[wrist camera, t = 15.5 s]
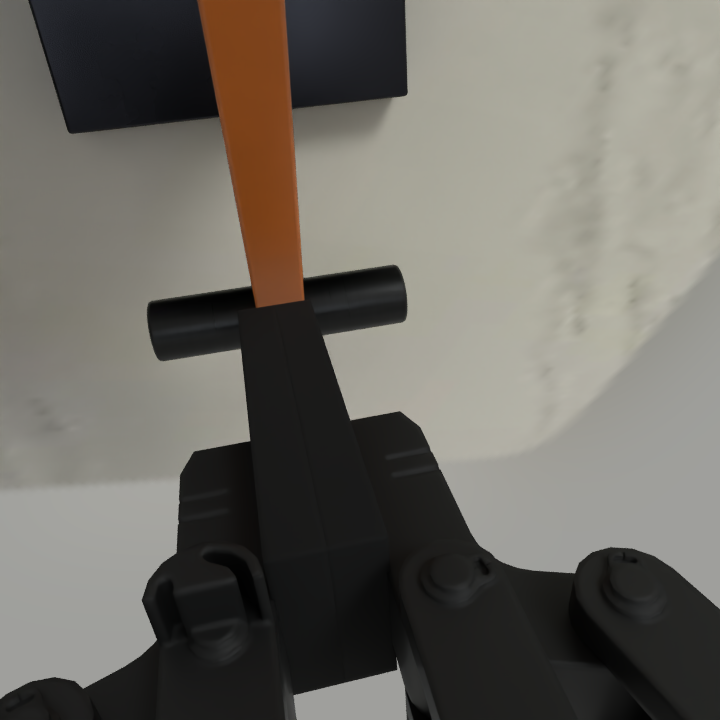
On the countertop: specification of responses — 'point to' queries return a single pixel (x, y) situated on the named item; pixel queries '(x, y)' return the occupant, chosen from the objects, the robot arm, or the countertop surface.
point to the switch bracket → (190, 60)
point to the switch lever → (264, 198)
